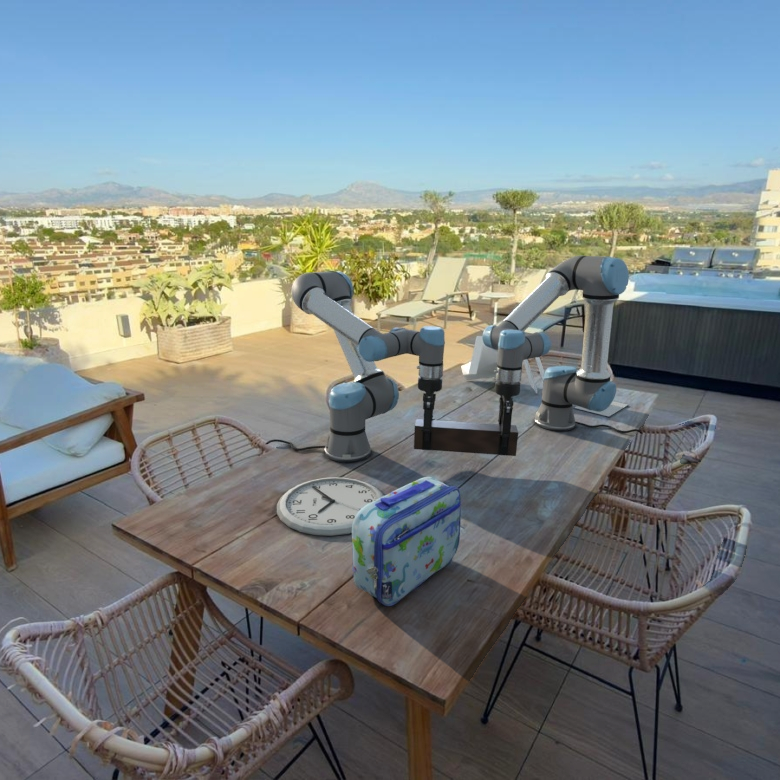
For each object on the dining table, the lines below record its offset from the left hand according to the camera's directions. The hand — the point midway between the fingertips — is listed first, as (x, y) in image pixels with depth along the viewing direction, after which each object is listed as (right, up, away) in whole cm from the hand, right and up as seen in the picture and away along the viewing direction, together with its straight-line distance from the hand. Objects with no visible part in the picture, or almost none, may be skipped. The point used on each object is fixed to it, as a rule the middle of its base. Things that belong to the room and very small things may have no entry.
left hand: (427, 445), depth 169 cm
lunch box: (-8, -23, -55) cm, 61 cm away
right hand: (+24, -1, -3) cm, 24 cm away
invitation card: (+80, +11, +57) cm, 99 cm away
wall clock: (-28, -14, -26) cm, 41 cm away
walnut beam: (+12, -1, -1) cm, 12 cm away
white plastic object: (+41, +19, +82) cm, 94 cm away
